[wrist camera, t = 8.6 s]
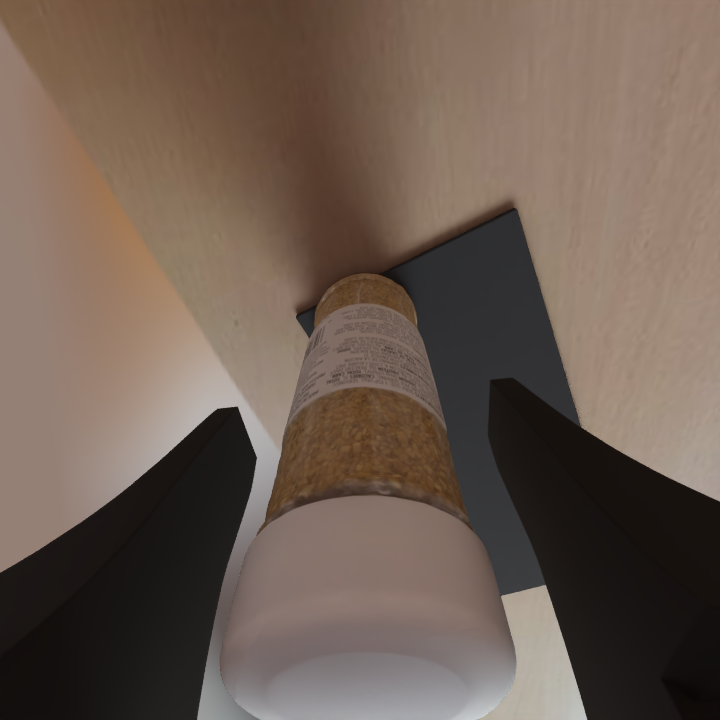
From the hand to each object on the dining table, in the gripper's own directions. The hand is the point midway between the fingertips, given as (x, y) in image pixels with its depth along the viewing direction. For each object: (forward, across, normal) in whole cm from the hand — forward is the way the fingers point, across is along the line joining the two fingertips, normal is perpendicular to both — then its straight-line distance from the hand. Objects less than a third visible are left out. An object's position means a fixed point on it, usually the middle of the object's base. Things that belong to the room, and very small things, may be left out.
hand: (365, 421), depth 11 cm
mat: (+7, -6, +10) cm, 14 cm away
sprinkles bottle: (+7, 0, 0) cm, 7 cm away
